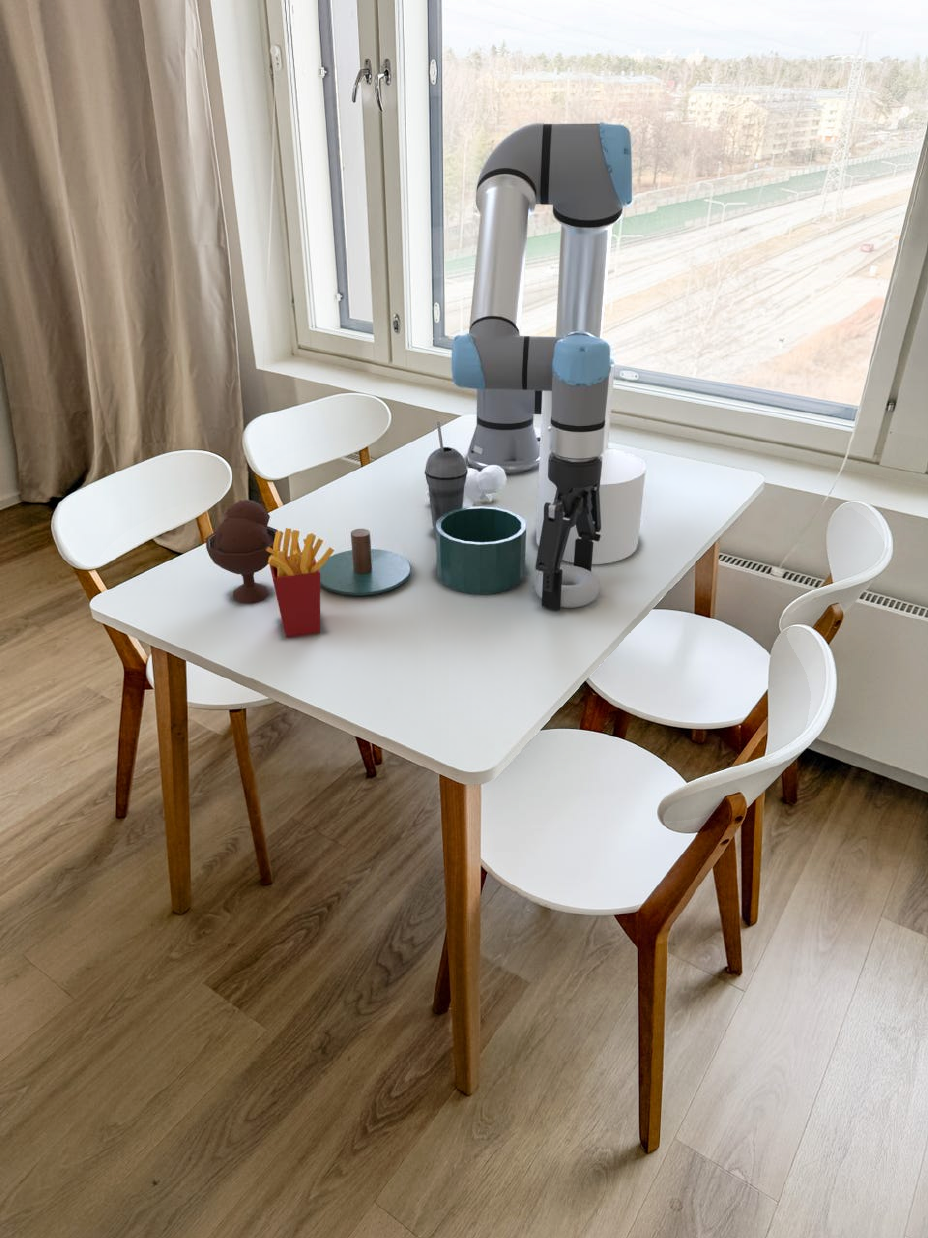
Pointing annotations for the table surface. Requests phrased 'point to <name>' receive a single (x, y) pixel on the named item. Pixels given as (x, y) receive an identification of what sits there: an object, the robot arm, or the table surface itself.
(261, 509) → the ice cream bowl
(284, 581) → the french fries
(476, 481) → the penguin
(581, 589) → the donut
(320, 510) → the table surface
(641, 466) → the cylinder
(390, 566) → the tin lid
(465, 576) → the tin
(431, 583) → the table surface
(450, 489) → the beverage cup
